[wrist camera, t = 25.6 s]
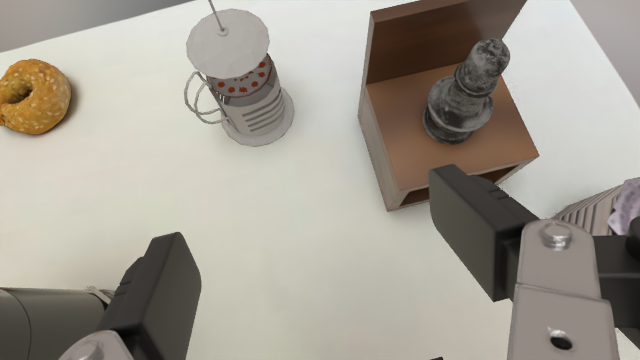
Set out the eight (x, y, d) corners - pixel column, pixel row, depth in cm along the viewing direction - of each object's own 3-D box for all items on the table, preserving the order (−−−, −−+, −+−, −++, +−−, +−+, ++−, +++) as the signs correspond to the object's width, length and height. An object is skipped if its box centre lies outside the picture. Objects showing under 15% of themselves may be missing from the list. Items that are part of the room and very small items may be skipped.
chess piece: (471, 92, 37) (531, 1, 26) (484, 144, 35) (556, 70, 24) (414, 98, 37) (449, 10, 26) (425, 150, 35) (467, 80, 24)
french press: (309, 111, 47) (283, -76, 24) (243, 170, 45) (140, 29, 21) (260, 67, 50) (192, -143, 26) (195, 121, 47) (55, -55, 24)
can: (569, 319, 38) (668, 328, 27) (522, 218, 42) (592, 188, 30) (668, 289, 39) (806, 286, 27) (613, 192, 42) (716, 153, 31)
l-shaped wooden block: (499, 183, 43) (606, 109, 26) (387, 211, 43) (422, 154, 26) (460, 91, 47) (530, -26, 30) (357, 115, 47) (370, 11, 30)
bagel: (3, 82, 51) (-30, 61, 46) (80, 67, 51) (55, 45, 46) (-4, 145, 48) (-39, 129, 43) (79, 129, 48) (52, 111, 43)
